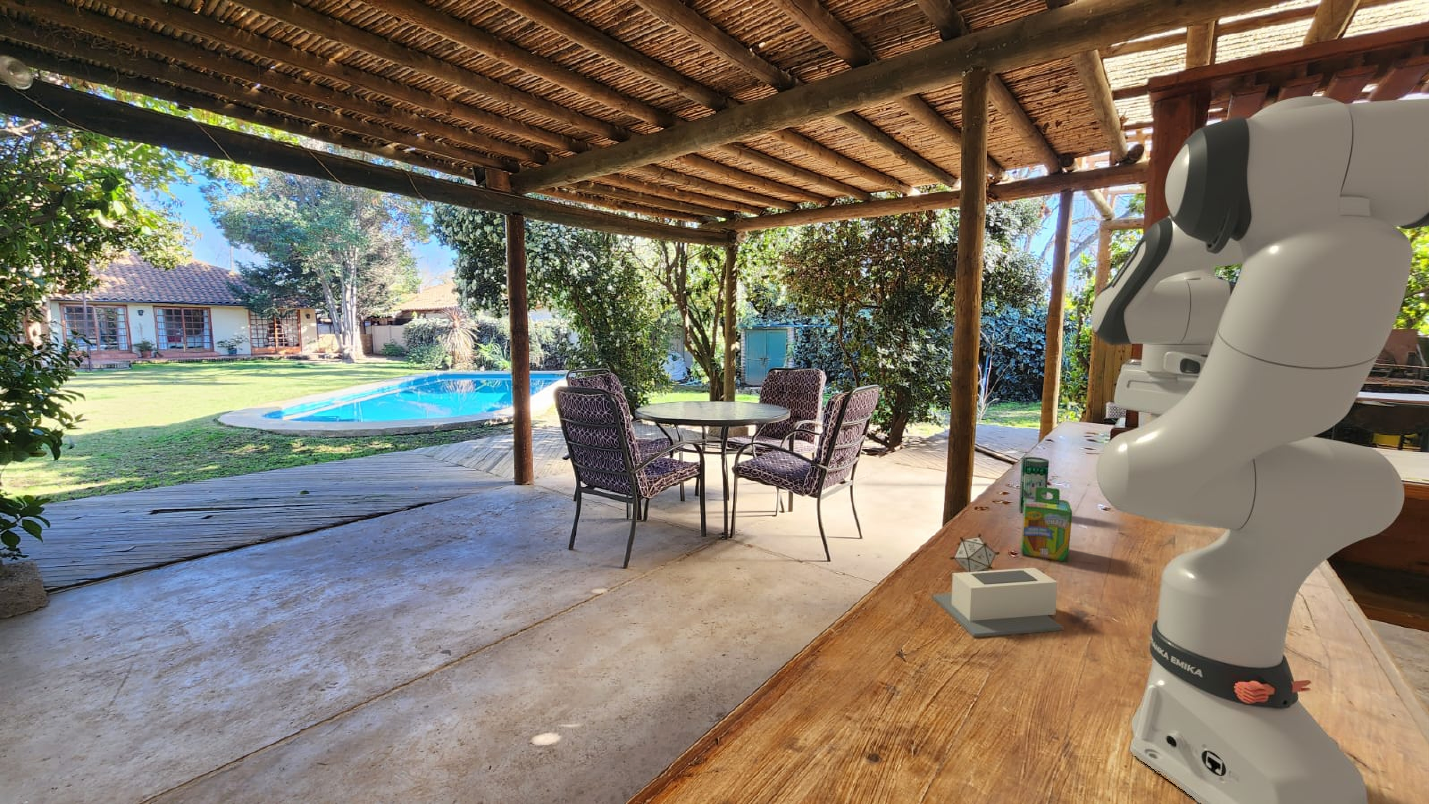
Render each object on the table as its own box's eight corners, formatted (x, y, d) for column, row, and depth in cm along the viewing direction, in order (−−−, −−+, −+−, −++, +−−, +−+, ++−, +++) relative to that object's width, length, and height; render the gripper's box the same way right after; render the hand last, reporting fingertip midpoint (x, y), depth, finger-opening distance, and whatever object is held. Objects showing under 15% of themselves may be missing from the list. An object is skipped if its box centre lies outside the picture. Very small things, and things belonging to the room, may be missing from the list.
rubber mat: (1062, 630, 95) (1063, 626, 95) (973, 637, 93) (973, 633, 93) (1010, 591, 108) (1010, 589, 108) (932, 597, 107) (932, 594, 107)
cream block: (1057, 581, 98) (971, 587, 96) (1055, 614, 99) (969, 620, 97) (1034, 566, 104) (952, 572, 102) (1032, 598, 105) (951, 604, 103)
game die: (982, 594, 116) (1008, 569, 109) (942, 577, 117) (965, 551, 110) (982, 559, 122) (1007, 533, 115) (944, 543, 123) (966, 517, 117)
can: (1022, 515, 151) (1025, 461, 149) (1017, 508, 157) (1020, 456, 155) (1047, 517, 150) (1051, 462, 148) (1041, 510, 155) (1044, 457, 153)
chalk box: (1021, 555, 125) (1024, 491, 123) (1020, 541, 133) (1023, 481, 131) (1069, 563, 121) (1074, 497, 119) (1065, 548, 129) (1070, 486, 127)
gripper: (1107, 358, 104) (1102, 431, 106) (1217, 365, 84) (1208, 455, 85) (1138, 357, 104) (1132, 430, 106) (1254, 364, 84) (1245, 454, 86)
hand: (1167, 442), depth 96 cm, fingers closed
